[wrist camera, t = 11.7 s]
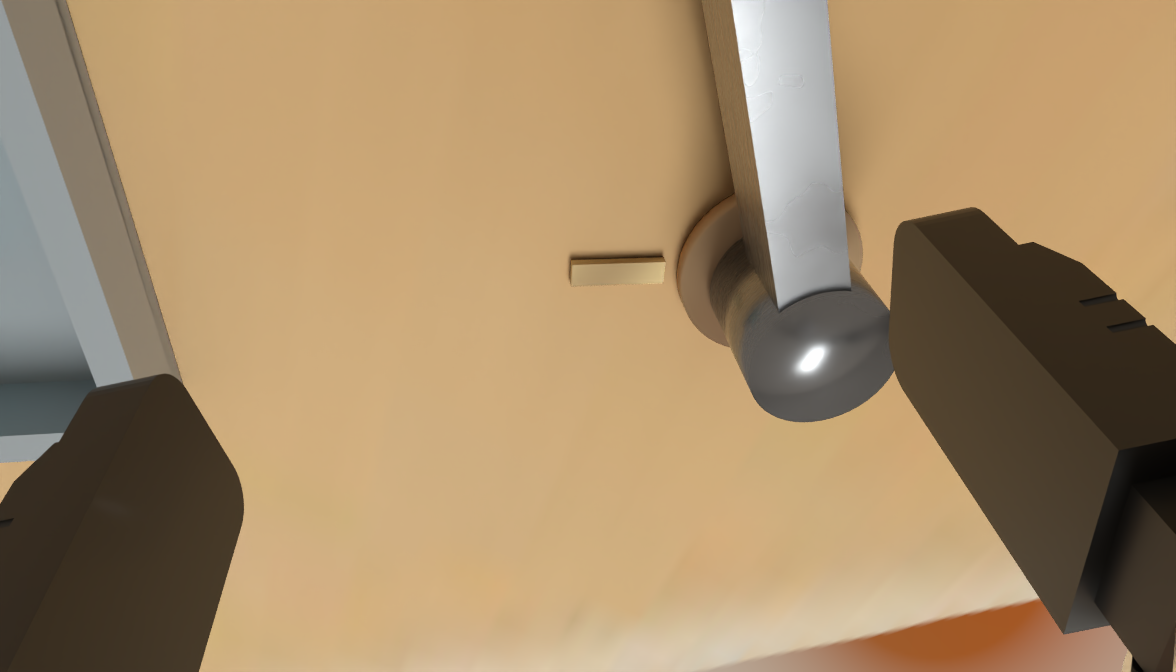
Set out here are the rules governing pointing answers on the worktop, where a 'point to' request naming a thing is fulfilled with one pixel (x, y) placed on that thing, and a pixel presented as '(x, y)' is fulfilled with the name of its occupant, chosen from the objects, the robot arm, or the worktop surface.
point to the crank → (790, 217)
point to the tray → (62, 240)
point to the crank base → (691, 265)
